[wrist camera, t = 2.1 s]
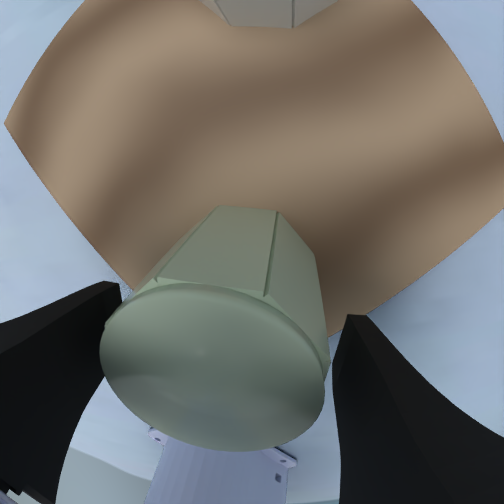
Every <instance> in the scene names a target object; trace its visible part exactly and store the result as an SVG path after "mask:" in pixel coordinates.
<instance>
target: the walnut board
mask: <svg viewBox="0 0 504 504" xmlns="http://www.w3.org/2000/svg"><path fill="white" fill-rule="evenodd" d="M4 125H5V126H6V128H7V130H8V131H9V133H10V135H11V136H12V138H13V139H14V141H15V143H16V144H17V146H18V147H19V149H20V150H21V152H22V154H23V155H24V157H25V158H26V160H27V161H28V163H29V164H30V166H31V167H32V168H33V170H34V171H35V173H36V174H37V176H38V177H39V178H40V180H41V181H42V183H43V184H44V185H45V187H46V188H47V190H48V191H49V192H50V194H51V195H52V196H53V198H54V199H55V200H56V202H57V203H58V204H59V206H60V207H61V208H62V209H63V211H64V212H65V213H66V215H67V216H68V217H69V218H70V220H71V221H72V222H73V223H74V225H75V226H76V227H77V228H78V230H79V231H80V232H81V233H82V234H83V236H84V237H85V238H86V239H87V240H88V242H89V243H90V244H91V245H92V246H93V247H94V249H95V250H96V251H97V252H98V253H99V254H100V255H101V257H102V258H103V259H104V260H105V261H106V262H107V263H108V264H109V266H110V267H111V268H112V269H113V270H114V271H115V272H116V273H117V274H118V275H119V277H120V278H121V279H122V280H123V281H124V282H125V283H126V284H127V285H128V286H129V287H130V288H131V289H132V290H134V289H135V287H136V286H137V285H138V284H139V283H140V282H141V281H142V280H143V278H144V277H145V276H146V275H147V274H148V273H149V272H150V271H151V270H152V268H153V267H154V266H155V265H156V264H157V263H158V262H159V261H160V260H161V259H162V258H163V256H164V255H165V254H166V253H167V252H168V251H169V250H170V249H171V248H172V247H173V246H174V245H175V244H176V242H177V241H178V240H179V239H180V238H181V237H183V236H184V235H185V234H186V233H187V232H188V231H189V230H190V229H191V228H192V227H194V226H195V225H196V224H197V223H198V222H199V221H200V220H201V219H203V218H204V217H205V216H206V215H207V214H208V213H209V212H211V211H212V210H213V209H214V208H215V207H216V206H219V205H226V206H237V207H247V208H257V209H267V210H277V213H278V212H280V213H281V214H282V216H283V217H284V218H285V219H286V220H287V222H288V223H289V224H290V225H291V226H292V228H293V229H294V230H295V231H296V232H297V234H298V235H299V236H300V237H301V239H302V240H303V241H304V242H305V243H306V245H307V246H308V247H309V248H310V250H311V251H312V252H313V253H314V256H315V261H316V267H317V272H318V278H319V284H320V290H321V297H322V303H323V309H324V316H325V323H326V330H327V337H330V336H332V335H334V334H335V333H337V332H339V331H340V330H342V329H343V327H344V324H345V320H346V317H347V314H355V315H366V314H368V313H369V312H371V311H372V310H374V309H375V308H377V307H378V306H380V305H381V304H383V303H384V302H386V301H387V300H389V299H390V298H392V297H393V296H395V295H396V294H397V293H399V292H400V291H402V290H403V289H405V288H406V287H407V286H409V285H410V284H412V283H413V282H414V281H416V280H417V279H419V278H420V277H421V276H423V275H424V274H425V273H427V272H428V271H429V270H431V269H432V268H433V267H435V266H436V265H437V264H439V263H440V262H441V261H442V260H444V259H445V258H446V257H447V256H449V255H450V254H451V253H452V252H454V251H455V250H456V249H457V248H459V247H460V246H461V245H462V244H464V243H465V242H466V241H467V240H468V239H469V238H471V237H472V236H473V235H474V234H475V233H477V232H478V231H479V230H480V229H481V228H482V227H483V226H485V225H486V224H487V223H488V222H489V221H490V220H491V219H492V218H493V217H495V216H496V215H497V214H498V213H499V212H500V211H501V210H502V209H503V208H504V142H503V140H502V138H501V136H500V133H499V131H498V129H497V127H496V125H495V123H494V121H493V119H492V117H491V115H490V113H489V111H488V109H487V107H486V105H485V103H484V101H483V99H482V98H481V96H480V94H479V92H478V91H477V89H476V87H475V85H474V84H473V82H472V80H471V79H470V77H469V75H468V74H467V72H466V71H465V69H464V68H463V66H462V65H461V63H460V62H459V60H458V59H457V57H456V56H455V54H454V53H453V51H452V50H451V49H450V47H449V46H448V44H447V43H446V42H445V40H444V39H443V38H442V36H441V35H440V34H439V33H438V31H437V30H436V29H435V27H434V26H433V25H432V24H431V23H430V21H429V20H428V19H427V18H426V17H425V15H424V14H423V13H422V12H421V11H420V10H419V8H418V7H417V6H416V5H415V4H414V3H413V2H412V1H411V0H338V1H337V2H335V3H333V4H332V5H330V6H328V7H327V8H325V9H323V10H322V11H320V12H318V13H317V14H315V15H314V16H312V17H311V18H309V19H307V20H306V21H304V22H303V23H301V24H300V25H298V26H297V27H295V28H294V27H293V26H292V29H290V28H276V27H251V26H231V25H228V24H227V23H226V22H225V21H223V20H222V19H221V18H220V17H219V16H218V15H216V14H215V13H214V12H213V11H212V10H210V9H209V8H208V7H207V6H205V5H204V4H203V3H202V2H200V1H199V0H85V1H84V2H83V3H82V4H81V5H80V7H79V8H78V9H77V10H76V11H75V12H74V14H73V15H72V16H71V17H70V18H69V20H68V21H67V22H66V23H65V25H64V26H63V27H62V28H61V30H60V31H59V32H58V34H57V35H56V36H55V38H54V39H53V41H52V42H51V43H50V45H49V46H48V48H47V49H46V50H45V52H44V53H43V55H42V56H41V58H40V59H39V61H38V62H37V64H36V66H35V67H34V69H33V70H32V72H31V74H30V75H29V77H28V79H27V80H26V82H25V84H24V85H23V87H22V89H21V91H20V93H19V94H18V96H17V98H16V100H15V102H14V104H13V106H12V108H11V110H10V112H9V114H8V116H7V118H6V120H5V122H4ZM277 213H276V214H277Z"/></svg>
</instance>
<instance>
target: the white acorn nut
mask: <svg viewBox="0 0 504 504" xmlns="http://www.w3.org/2000/svg"><path fill="white" fill-rule="evenodd" d="M199 1H200V2H202V3H203V4H204V5H205V6H207V7H208V8H209V9H210V10H212V11H213V12H214V13H215V14H216V15H218V16H219V17H220V18H221V19H222V20H223V21H225V22H226V23H227V24H228V25H231V26H251V27H276V28H290V29H292V26H293V27H294V28H295V27H297V26H298V25H300V24H301V23H303V22H304V21H306V20H307V19H309V18H311V17H312V16H314V15H315V14H317V13H318V12H320V11H322V10H323V9H325V8H327V7H328V6H330V5H332V4H333V3H335V2H337V1H338V0H199Z"/></svg>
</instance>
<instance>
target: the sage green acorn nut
mask: <svg viewBox="0 0 504 504" xmlns="http://www.w3.org/2000/svg"><path fill="white" fill-rule="evenodd" d="M276 213H277V210H267V209H257V208H247V207H237V206H226V205H219V206H216V207H215V208H214V209H213V210H212V211H211V212H209V213H208V214H207V215H206V216H205V217H204V218H203V219H201V220H200V221H199V222H198V223H197V224H196V225H195V226H194V227H192V228H191V229H190V230H189V231H188V232H187V233H186V234H185V235H184V236H183V237H181V238H180V239H179V240H178V241H177V242H176V244H175V245H174V246H173V247H172V248H171V249H170V250H169V251H168V252H167V253H166V254H165V255H164V256H163V258H162V259H161V260H160V261H159V262H158V263H157V264H156V265H155V266H154V267H153V268H152V270H151V271H150V272H149V273H148V274H147V275H146V276H145V277H144V278H143V280H142V281H141V282H140V283H139V284H138V285H137V286H136V287H135V289H134V290H133V291H132V292H131V293H130V294H129V295H128V297H127V298H126V299H125V300H124V301H123V302H122V304H121V305H120V306H119V307H118V308H117V309H116V311H115V312H114V313H113V314H112V315H111V316H110V318H109V319H108V320H107V321H106V322H105V326H104V327H105V330H104V332H103V334H102V338H101V341H100V351H99V353H100V362H101V365H102V369H103V372H104V375H105V377H106V379H107V381H108V383H109V385H110V386H111V388H112V390H113V391H114V393H115V394H116V395H117V397H118V398H119V399H120V400H121V401H122V402H123V404H124V405H125V406H126V407H127V408H128V409H129V410H130V411H132V412H133V413H134V414H135V415H136V416H137V417H139V418H140V419H141V420H142V421H144V422H145V423H147V424H148V425H150V426H151V427H153V428H155V429H156V430H158V431H160V432H162V433H163V434H166V435H168V436H170V437H172V438H174V439H177V440H179V441H182V442H184V443H188V444H191V445H194V446H198V447H202V448H206V449H212V450H218V451H228V452H248V451H258V450H264V449H269V448H272V447H276V446H279V445H282V444H284V443H287V442H289V441H291V440H293V439H295V438H297V437H298V436H300V435H301V434H303V433H304V432H305V431H306V430H307V429H309V428H310V427H311V426H312V425H313V423H314V422H315V421H316V420H317V418H318V416H319V414H320V412H321V411H322V407H323V404H324V396H325V388H324V381H325V378H326V375H327V372H328V369H329V366H330V363H331V360H330V352H329V344H328V337H327V330H326V323H325V316H324V309H323V303H322V297H321V290H320V284H319V278H318V272H317V267H316V261H315V256H314V253H313V252H312V251H311V250H310V248H309V247H308V246H307V245H306V243H305V242H304V241H303V240H302V239H301V237H300V236H299V235H298V234H297V232H296V231H295V230H294V229H293V228H292V226H291V225H290V224H289V223H288V222H287V220H286V219H285V218H284V217H283V216H282V214H281V213H280V212H278V213H277V214H276Z"/></svg>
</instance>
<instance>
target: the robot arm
mask: <svg viewBox="0 0 504 504" xmlns="http://www.w3.org/2000/svg"><path fill="white" fill-rule="evenodd" d="M121 304H122V298H121V292H120V286H119V283H113V282H108V281H102V282H99V283H96V284H93V285H91V286H88V287H86V288H84V289H81V290H79V291H77V292H75V293H72V294H70V295H68V296H66V297H64V298H62V299H59V300H57V301H55V302H53V303H51V304H49V305H46V306H44V307H41V308H39V309H37V310H34V311H32V312H30V313H28V314H25V315H23V316H20V317H18V318H15V319H12V320H9V321H6V322H3V323H0V504H17V503H16V502H15V501H14V500H12V499H11V498H10V497H8V496H7V495H6V494H7V492H8V490H9V489H10V490H11V491H13V492H14V493H15V494H17V495H20V494H21V492H22V491H23V492H25V493H26V494H27V495H29V496H30V497H32V498H33V499H35V500H36V501H38V502H39V503H41V504H55V502H56V495H57V489H58V484H59V479H60V474H61V471H62V467H63V464H64V460H65V457H66V453H67V451H68V448H69V445H70V442H71V439H72V437H73V434H74V432H75V429H76V427H77V424H78V422H79V420H80V418H81V415H82V413H83V411H84V409H85V408H86V406H87V404H88V402H89V401H90V399H91V397H92V396H93V394H94V392H95V391H96V389H97V388H98V386H99V385H100V383H101V381H102V380H103V378H104V377H105V375H104V372H103V369H102V365H101V362H100V353H99V351H100V341H101V338H102V334H103V332H104V330H105V327H104V326H105V322H106V321H107V320H108V319H109V318H110V316H111V315H112V314H113V313H114V312H115V311H116V309H117V308H118V307H119V306H120V305H121ZM332 386H333V398H334V405H335V413H336V421H337V428H338V436H339V445H340V456H341V479H340V498H339V504H504V437H502V436H500V435H498V434H496V433H495V432H493V431H491V430H490V429H488V428H486V427H485V426H483V425H482V424H480V423H479V422H477V421H476V420H474V419H473V418H472V417H470V416H469V415H467V414H466V413H464V412H463V411H462V410H461V409H459V408H458V407H457V406H455V405H454V404H453V403H452V402H451V401H449V400H448V399H447V398H446V397H445V396H443V395H442V394H441V393H440V392H439V391H438V390H437V389H435V388H434V387H433V386H432V385H431V384H430V383H429V382H428V381H427V380H426V379H425V378H424V377H423V376H422V375H421V374H420V373H419V372H418V371H417V370H416V369H415V368H414V367H413V366H412V365H411V364H410V363H409V362H408V361H407V360H406V359H405V358H404V356H403V355H402V354H401V353H400V352H399V351H398V350H397V349H396V348H395V346H394V345H393V344H392V343H391V342H390V341H389V340H388V339H387V337H386V336H385V335H384V334H383V333H382V332H381V331H380V329H379V328H378V327H377V326H376V325H375V324H374V323H373V322H372V321H371V319H370V318H369V317H368V316H367V315H355V314H347V317H346V320H345V324H344V327H343V331H342V334H341V337H340V340H339V344H338V347H337V350H336V353H335V356H334V359H333V362H332ZM147 434H148V436H149V437H151V438H152V439H154V440H155V441H157V442H158V443H160V444H161V445H163V446H164V450H163V452H162V455H161V458H160V461H159V463H158V466H157V469H156V471H155V474H154V477H153V480H152V482H151V485H150V488H149V490H148V493H147V496H146V499H145V501H144V504H285V503H286V490H287V476H288V469H289V468H292V467H295V466H297V461H296V460H295V459H293V458H291V457H289V456H288V455H286V454H284V453H283V452H281V451H279V450H277V449H276V448H274V447H272V448H269V449H264V450H258V451H248V452H228V451H218V450H212V449H206V448H202V447H198V446H194V445H191V444H188V443H184V442H182V441H179V440H177V439H174V438H172V437H170V436H168V435H166V434H163V433H162V432H160V431H158V430H156V429H155V428H153V429H150V430H148V433H147Z"/></svg>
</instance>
